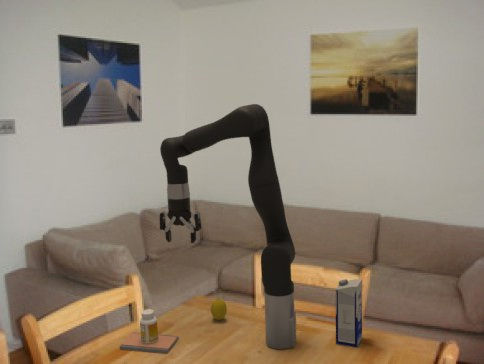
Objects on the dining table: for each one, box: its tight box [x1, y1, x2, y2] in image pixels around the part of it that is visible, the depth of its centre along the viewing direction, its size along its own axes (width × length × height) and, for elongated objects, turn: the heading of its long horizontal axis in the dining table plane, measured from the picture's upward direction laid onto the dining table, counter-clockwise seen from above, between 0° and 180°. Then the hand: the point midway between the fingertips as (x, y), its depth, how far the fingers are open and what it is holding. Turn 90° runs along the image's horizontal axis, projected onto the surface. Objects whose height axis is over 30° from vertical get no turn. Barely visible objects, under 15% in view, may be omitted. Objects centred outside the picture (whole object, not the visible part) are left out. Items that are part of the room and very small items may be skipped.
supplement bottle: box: [139, 309, 159, 344], centre depth 176 cm, size 5×5×10 cm
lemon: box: [210, 298, 228, 321], centre depth 192 cm, size 6×6×8 cm
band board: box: [119, 332, 180, 354], centre depth 177 cm, size 16×10×1 cm, turn 76°
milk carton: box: [334, 278, 363, 348], centre depth 172 cm, size 7×7×20 cm
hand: (181, 242), depth 190 cm, fingers open, 8 cm apart
